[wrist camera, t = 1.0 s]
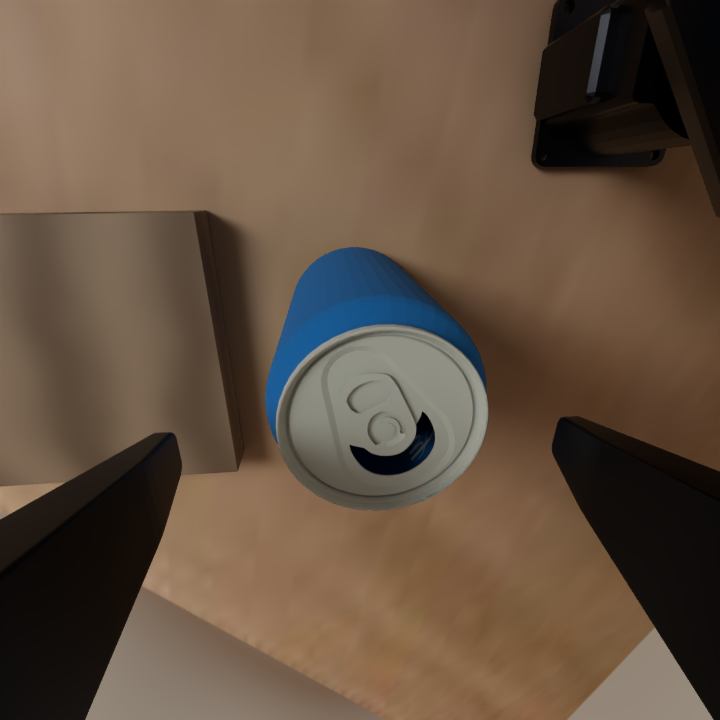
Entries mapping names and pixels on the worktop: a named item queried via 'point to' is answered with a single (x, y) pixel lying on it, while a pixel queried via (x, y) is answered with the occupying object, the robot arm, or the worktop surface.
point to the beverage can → (374, 386)
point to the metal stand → (111, 343)
